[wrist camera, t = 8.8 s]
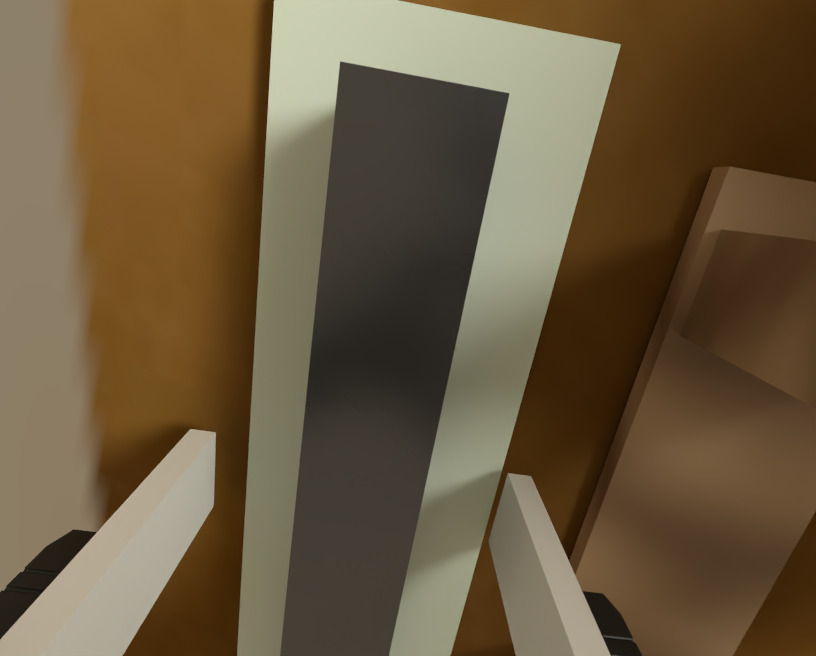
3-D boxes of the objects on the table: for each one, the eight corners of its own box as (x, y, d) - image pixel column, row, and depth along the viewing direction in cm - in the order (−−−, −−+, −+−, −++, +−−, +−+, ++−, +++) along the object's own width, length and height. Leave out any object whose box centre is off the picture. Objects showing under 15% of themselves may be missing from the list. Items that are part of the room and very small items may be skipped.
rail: (359, 97, 10) (340, 61, 7) (481, 120, 10) (509, 93, 7) (288, 704, 17) (264, 809, 14) (363, 713, 17) (353, 818, 14)
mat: (282, -12, 10) (275, -24, 9) (608, 52, 10) (621, 44, 10) (238, 712, 18) (232, 729, 17) (423, 733, 18) (423, 750, 18)
